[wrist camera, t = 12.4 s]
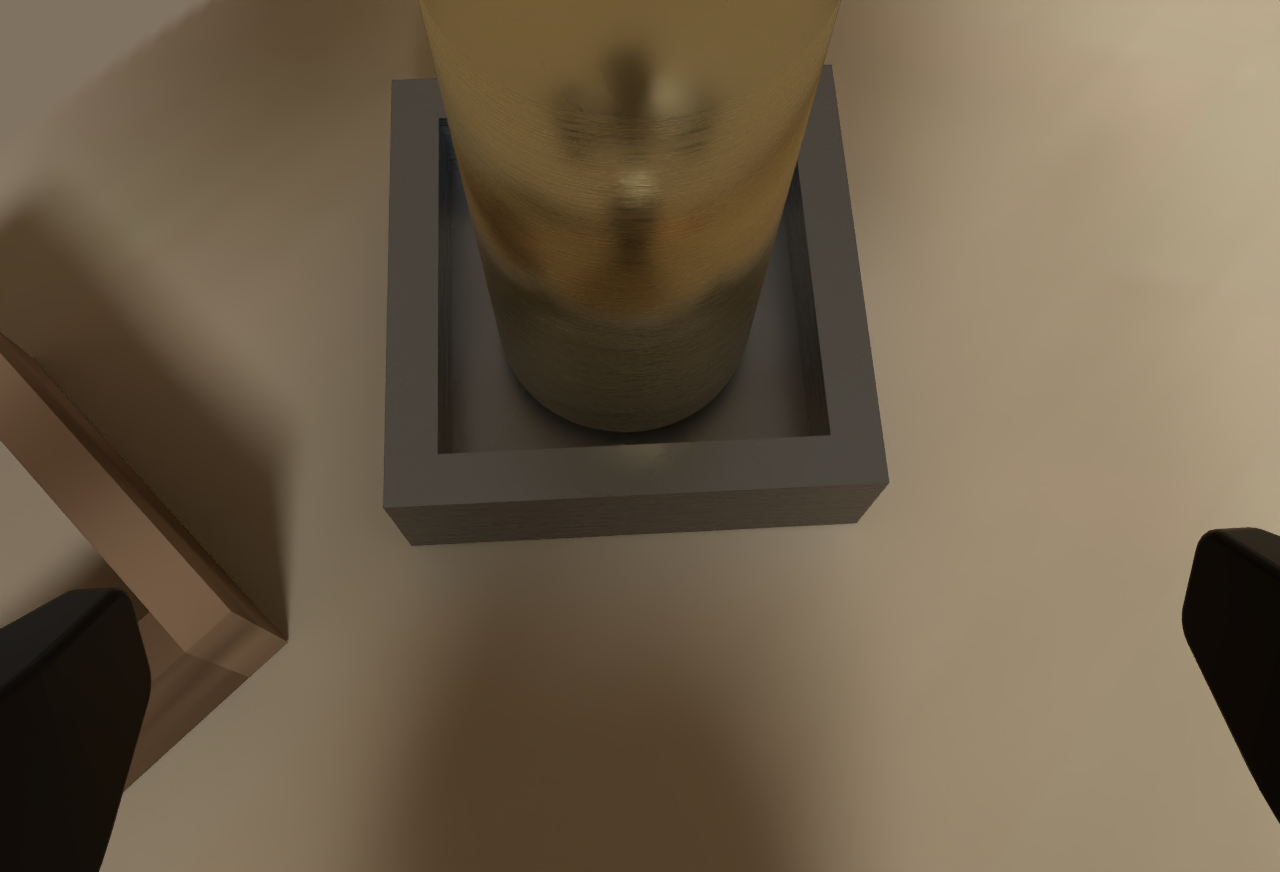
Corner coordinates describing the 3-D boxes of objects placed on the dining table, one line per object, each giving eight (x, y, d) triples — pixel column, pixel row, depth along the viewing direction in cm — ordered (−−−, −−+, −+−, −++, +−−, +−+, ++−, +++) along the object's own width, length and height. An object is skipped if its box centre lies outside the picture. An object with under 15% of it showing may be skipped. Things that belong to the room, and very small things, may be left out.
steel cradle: (808, 145, 27) (831, 65, 24) (856, 523, 24) (889, 483, 21) (416, 159, 26) (392, 79, 23) (411, 545, 23) (383, 507, 20)
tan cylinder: (801, 317, 24) (942, -64, 14) (620, 484, 23) (624, 201, 12) (627, 160, 25) (634, -299, 15) (446, 310, 24) (315, -80, 14)
